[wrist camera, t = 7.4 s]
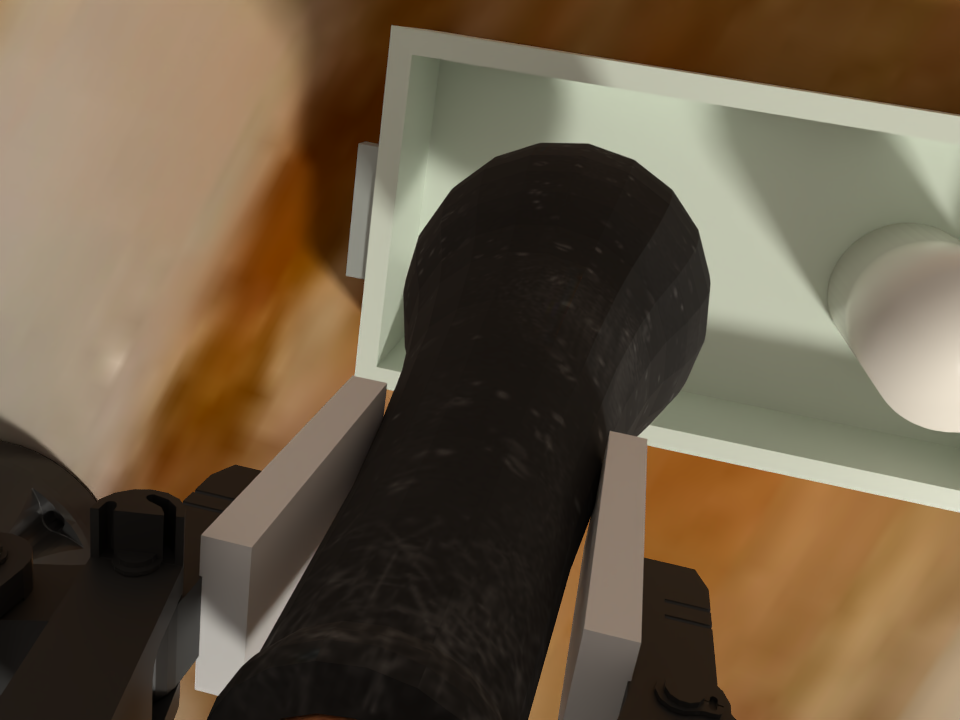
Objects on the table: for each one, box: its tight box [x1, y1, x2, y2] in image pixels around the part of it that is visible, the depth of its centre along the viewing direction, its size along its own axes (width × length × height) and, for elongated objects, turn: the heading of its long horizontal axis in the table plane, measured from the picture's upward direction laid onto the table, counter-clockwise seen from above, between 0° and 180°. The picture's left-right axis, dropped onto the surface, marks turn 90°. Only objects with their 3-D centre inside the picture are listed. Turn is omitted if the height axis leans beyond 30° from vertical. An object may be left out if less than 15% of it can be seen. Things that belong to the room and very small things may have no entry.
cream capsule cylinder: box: [827, 223, 960, 433], centre depth 36 cm, size 6×6×9 cm
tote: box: [346, 25, 960, 512], centre depth 40 cm, size 32×16×6 cm, turn 82°
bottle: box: [207, 143, 711, 720], centre depth 23 cm, size 11×11×30 cm
